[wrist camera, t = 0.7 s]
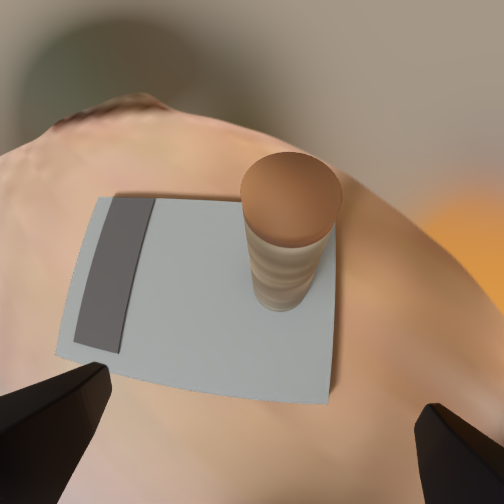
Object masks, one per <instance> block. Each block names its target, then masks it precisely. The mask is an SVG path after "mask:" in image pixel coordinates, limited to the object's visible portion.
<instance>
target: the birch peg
mask: <svg viewBox="0 0 504 504" xmlns="http://www.w3.org/2000/svg"><path fill="white" fill-rule="evenodd" d="M240 194H241V202H242V210H243V217H244V224H245V231H246V239H247V246H248V253H249V260H250V267H251V275H252V282H253V289H254V293H255V296H256V298H257V300H258V301H259V302H260V304H261V305H263V306H264V307H265V308H267V309H269V310H272V311H276V312H285V311H289V310H292V309H294V308H295V307H297V306H298V305H299V304H300V303H301V302H302V300H303V299H304V297H305V295H306V292H307V290H308V288H309V285H310V283H311V280H312V278H313V276H314V273H315V271H316V268H317V266H318V263H319V261H320V258H321V256H322V253H323V251H324V248H325V246H326V243H327V241H328V238H329V235H330V233H331V230H332V228H333V225H334V222H335V220H336V217H337V214H338V212H339V209H340V206H341V202H342V191H341V186H340V183H339V181H338V179H337V177H336V176H335V174H334V173H333V172H332V170H331V169H330V168H329V167H328V166H327V165H325V164H324V163H323V162H321V161H319V160H318V159H316V158H314V157H312V156H309V155H306V154H302V153H296V152H281V153H275V154H272V155H269V156H266V157H264V158H262V159H260V160H258V161H257V162H256V163H254V164H253V165H252V166H251V167H250V168H249V169H248V171H247V172H246V174H245V175H244V177H243V180H242V183H241V189H240Z"/></svg>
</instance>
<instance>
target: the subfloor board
mask: <svg viewBox="0 0 504 504" xmlns="http://www.w3.org/2000/svg"><path fill="white" fill-rule="evenodd" d="M126 198H130V197H126ZM112 199H113V197H98V200H97V203H96V205H95V208H94V211H93V213H92V216H91V219H90V222H89V225H88V227H87V230H86V233H85V236H84V239H83V242H82V246H81V249H80V252H79V255H78V259H77V262H76V265H75V269H74V272H73V276H72V280H71V283H70V287H69V291H68V295H67V299H66V303H65V308H64V312H63V316H62V321H61V326H60V331H59V336H58V341H57V347H56V352H55V355H56V356H58V357H61V358H64V359H67V360H70V361H73V362H76V363H80V364H83V365H86V364H89V363H91V362H99V363H102V364H105V365H107V366H108V368H109V372H110V373H114V374H117V375H121V376H125V377H129V378H133V379H137V380H141V381H146V382H150V383H154V384H159V385H164V386H169V387H174V388H179V389H184V390H190V391H195V392H201V393H207V394H214V395H221V396H228V397H235V398H244V399H252V400H262V401H273V402H286V403H302V404H328V398H329V387H330V376H331V363H332V349H333V332H334V311H335V277H336V220H335V222H334V225H333V228H332V230H331V233H330V235H329V238H328V241H327V243H326V246H325V248H324V251H323V253H322V256H321V258H320V261H319V263H318V266H317V268H316V271H315V273H314V276H313V278H312V280H311V283H310V285H309V288H308V290H307V292H306V295H305V297H304V299H303V300H302V302H301V303H300V304H299V305H298V306H297V307H295V308H294V309H292V310H289V311H285V312H276V311H272V310H269V309H267V308H265V307H264V306H263V305H261V304H260V302H259V301H258V300H257V298H256V296H255V293H254V289H253V282H252V275H251V267H250V260H249V253H248V246H247V239H246V231H245V224H244V217H243V210H242V202H227V201H209V200H189V199H164V198H155V202H154V205H153V208H152V212H151V215H150V218H149V222H148V225H147V229H146V233H145V236H144V240H143V244H142V247H141V251H140V255H139V259H138V263H137V267H136V271H135V275H134V280H133V284H132V288H131V293H130V297H129V302H128V307H127V312H126V316H125V322H124V327H123V332H122V337H121V343H120V349H119V354H117V353H112V352H108V351H104V350H101V349H97V348H93V347H89V346H86V345H82V344H79V343H75V342H73V340H74V335H75V330H76V325H77V320H78V316H79V311H80V307H81V302H82V298H83V294H84V290H85V286H86V282H87V278H88V274H89V271H90V267H91V264H92V260H93V257H94V253H95V250H96V247H97V243H98V240H99V237H100V234H101V231H102V228H103V225H104V222H105V219H106V216H107V213H108V210H109V207H110V204H111V202H112Z"/></svg>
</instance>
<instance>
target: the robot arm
mask: <svg viewBox="0 0 504 504" xmlns="http://www.w3.org/2000/svg"><path fill="white" fill-rule="evenodd" d="M111 392H112V384H111V379H110V373H109V368H108V366H107V365H105V364H102V363H99V362H91V363H89V364H86V365H83V366H81V367H78V368H76V369H73V370H71V371H68V372H65V373H63V374H60V375H58V376H55V377H52V378H50V379H47V380H44V381H42V382H39V383H36V384H34V385H31V386H28V387H25V388H23V389H20V390H17V391H14V392H11V393H9V394H6V395H3V396H0V504H57V503H58V501H59V499H60V497H61V495H62V493H63V491H64V489H65V487H66V485H67V484H68V482H69V480H70V478H71V476H72V474H73V472H74V470H75V469H76V467H77V465H78V463H79V461H80V459H81V458H82V456H83V454H84V452H85V450H86V448H87V447H88V445H89V443H90V441H91V439H92V437H93V436H94V434H95V431H96V429H97V427H98V424H99V422H100V419H101V417H102V414H103V412H104V410H105V407H106V405H107V403H108V400H109V398H110V396H111ZM414 433H415V441H416V449H417V457H418V467H419V473H420V479H421V484H422V489H423V494H424V499H425V504H504V447H502V446H501V445H499V444H498V443H496V442H495V441H493V440H492V439H490V438H489V437H488V436H486V435H485V434H483V433H482V432H480V431H479V430H477V429H476V428H475V427H473V426H472V425H470V424H469V423H467V422H466V421H464V420H463V419H462V418H460V417H459V416H457V415H456V414H454V413H453V412H452V411H450V410H449V409H447V408H446V407H444V406H443V405H442V404H440V403H429V404H427V405H426V406H425V407H424V409H423V411H422V412H421V414H420V416H419V418H418V420H417V421H416V423H415V427H414Z"/></svg>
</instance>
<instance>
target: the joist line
mask: <svg viewBox="0 0 504 504" xmlns="http://www.w3.org/2000/svg"><path fill="white" fill-rule="evenodd" d="M154 202H155V198H126V197H113V199H112V202H111V204H110V207H109V210H108V213H107V216H106V219H105V222H104V225H103V228H102V231H101V234H100V237H99V240H98V243H97V247H96V250H95V253H94V257H93V260H92V264H91V267H90V271H89V274H88V278H87V282H86V286H85V290H84V294H83V298H82V302H81V307H80V311H79V316H78V320H77V325H76V330H75V335H74V340H73V342H75V343H79V344H82V345H86V346H89V347H93V348H97V349H101V350H104V351H108V352H112V353H117V354H119V349H120V343H121V337H122V332H123V327H124V322H125V316H126V312H127V307H128V302H129V297H130V293H131V288H132V284H133V280H134V275H135V271H136V267H137V263H138V259H139V255H140V251H141V247H142V244H143V240H144V236H145V233H146V229H147V225H148V222H149V218H150V215H151V212H152V208H153V205H154Z"/></svg>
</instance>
